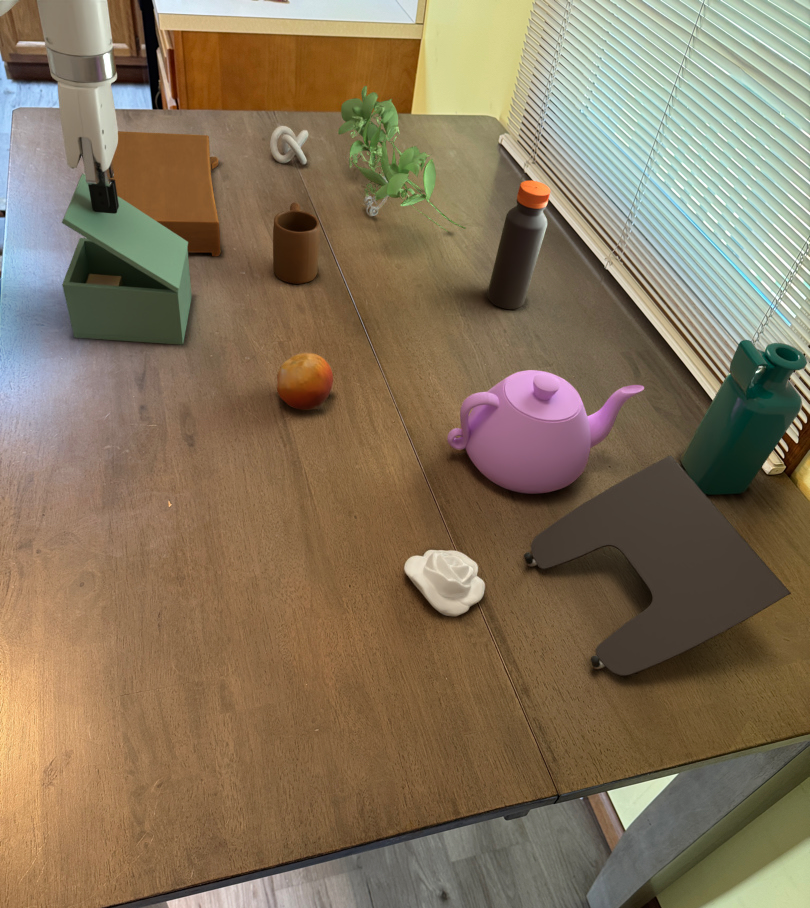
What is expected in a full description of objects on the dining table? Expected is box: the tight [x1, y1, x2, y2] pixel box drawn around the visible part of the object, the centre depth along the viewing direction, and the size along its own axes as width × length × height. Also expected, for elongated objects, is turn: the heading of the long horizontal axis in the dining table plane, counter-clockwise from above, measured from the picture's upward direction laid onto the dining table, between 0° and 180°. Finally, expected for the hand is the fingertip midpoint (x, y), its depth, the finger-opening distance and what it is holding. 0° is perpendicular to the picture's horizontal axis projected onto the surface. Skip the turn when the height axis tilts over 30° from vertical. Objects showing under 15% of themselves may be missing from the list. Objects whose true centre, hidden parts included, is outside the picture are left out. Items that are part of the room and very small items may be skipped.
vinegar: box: [486, 180, 551, 310], centre depth 128 cm, size 7×7×20 cm
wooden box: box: [110, 130, 222, 257], centre depth 138 cm, size 23×6×35 cm
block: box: [86, 274, 123, 286], centre depth 116 cm, size 5×5×5 cm
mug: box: [272, 202, 321, 285], centre depth 130 cm, size 12×8×9 cm, turn 7°
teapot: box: [446, 369, 645, 495], centre depth 105 cm, size 25×18×14 cm
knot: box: [269, 125, 309, 165], centre depth 156 cm, size 8×8×6 cm
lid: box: [61, 173, 188, 292], centre depth 108 cm, size 16×13×1 cm
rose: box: [403, 549, 486, 617], centre depth 92 cm, size 10×4×10 cm
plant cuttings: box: [337, 85, 467, 233], centre depth 145 cm, size 35×17×22 cm
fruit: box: [276, 352, 334, 411], centre depth 110 cm, size 8×8×8 cm
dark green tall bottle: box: [680, 339, 808, 496], centre depth 105 cm, size 10×8×22 cm
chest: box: [61, 237, 193, 346], centre depth 115 cm, size 16×13×9 cm
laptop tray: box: [523, 454, 792, 677], centre depth 94 cm, size 23×23×9 cm
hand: (106, 209), depth 106 cm, fingers closed
